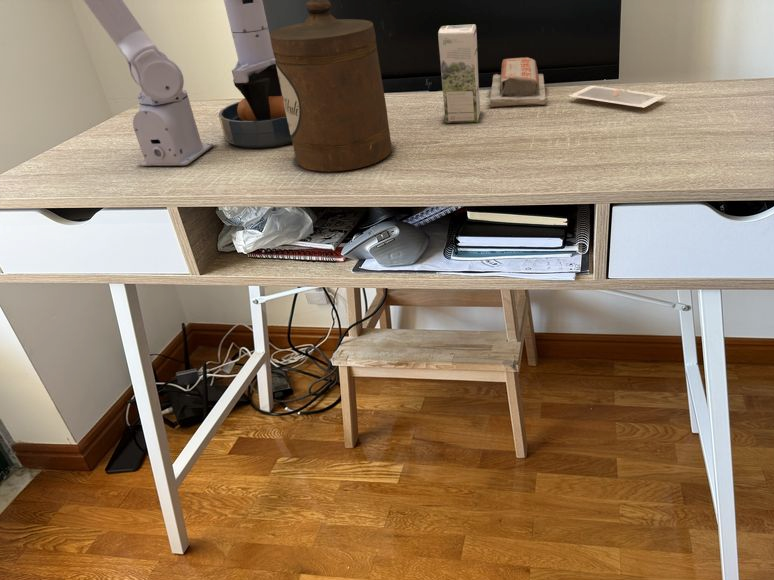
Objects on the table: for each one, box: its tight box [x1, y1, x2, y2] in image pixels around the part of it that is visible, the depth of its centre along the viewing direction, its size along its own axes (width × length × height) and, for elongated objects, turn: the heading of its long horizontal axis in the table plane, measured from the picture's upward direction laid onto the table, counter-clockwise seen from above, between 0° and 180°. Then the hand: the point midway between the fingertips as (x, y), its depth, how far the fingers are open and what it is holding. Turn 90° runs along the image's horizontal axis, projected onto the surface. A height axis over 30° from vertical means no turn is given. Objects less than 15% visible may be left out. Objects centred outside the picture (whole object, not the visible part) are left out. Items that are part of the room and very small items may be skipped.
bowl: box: [217, 101, 293, 149], centre depth 115 cm, size 16×16×4 cm
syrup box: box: [437, 23, 481, 124], centre depth 112 cm, size 6×6×14 cm
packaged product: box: [489, 56, 547, 108], centre depth 126 cm, size 18×5×10 cm
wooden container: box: [269, 0, 393, 173], centre depth 98 cm, size 15×15×22 cm
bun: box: [237, 96, 286, 121], centre depth 114 cm, size 11×5×5 cm, turn 81°
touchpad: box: [568, 84, 667, 109], centre depth 118 cm, size 8×15×2 cm, turn 49°
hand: (269, 116), depth 114 cm, fingers closed on bun, 4 cm apart
